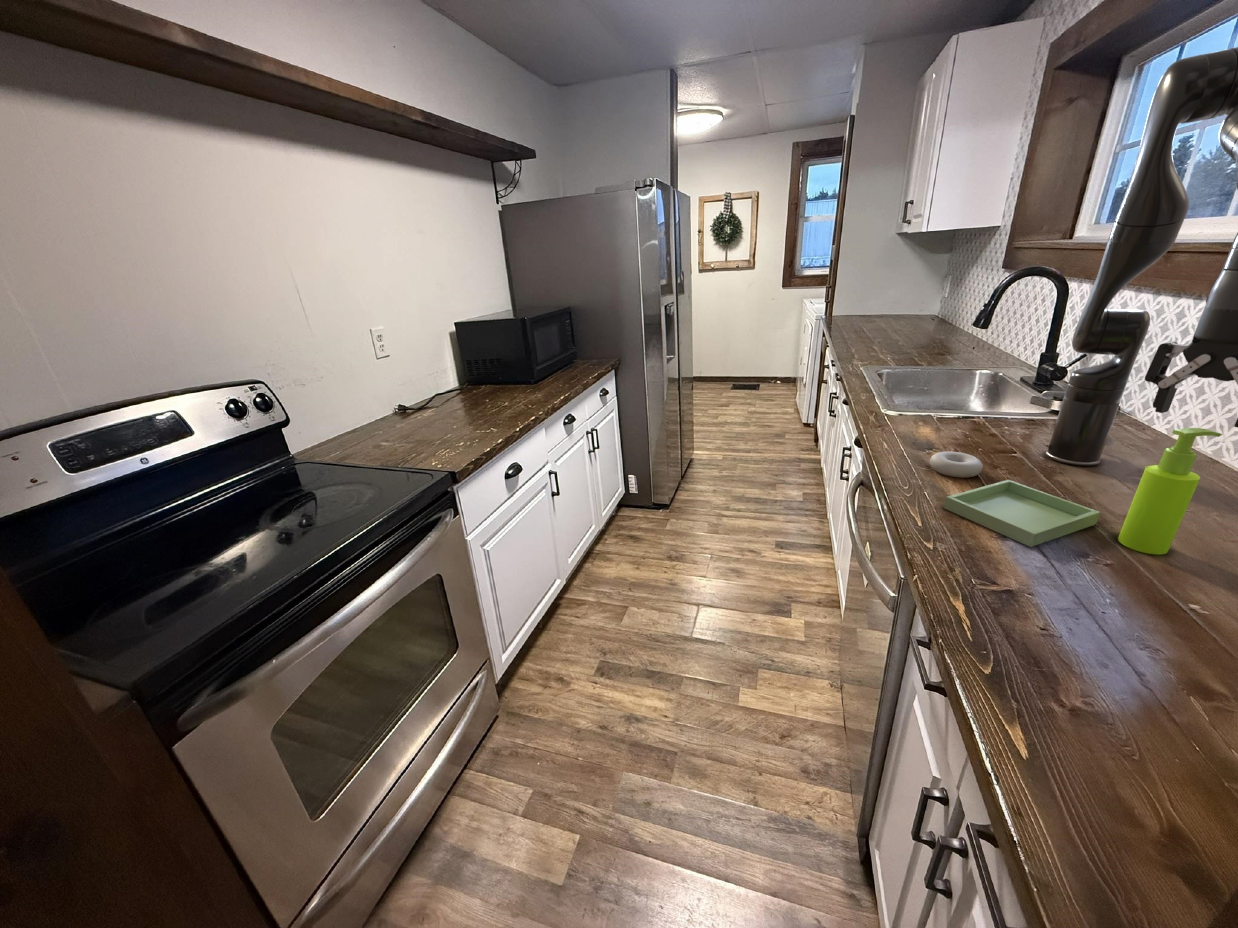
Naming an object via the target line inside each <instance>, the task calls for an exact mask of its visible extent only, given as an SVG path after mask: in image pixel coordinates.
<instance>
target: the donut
mask: <svg viewBox="0 0 1238 928" xmlns="http://www.w3.org/2000/svg"><path fill="white" fill-rule="evenodd" d="M929 465H930V468H931V469H932V470H933V471H935V472H937V473H939V474H940V475H944V476H947V477H953V478H960V479H961V478H962V479H963V478H964V479H965V478H972V477H976V476H978V475H980V474H981V473H982V472H983V469H984V468H983V467H984V464H983V462H982V461H981V460H980V459H979V458H977V457H975V456H974V455H972V454H970V453H969V454H968V453H965V452H960V451H951V450H950V451H940V452H939V451H938V452H937V453H935V454H933V455H932V456H931V457H930V459H929Z"/></svg>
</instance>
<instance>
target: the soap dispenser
mask: <svg viewBox="0 0 1238 928" xmlns="http://www.w3.org/2000/svg"><path fill="white" fill-rule="evenodd" d="M1172 434H1173V435H1175V436H1176V435H1177V436H1178V437H1177V440H1176V442H1175V444H1174V446H1170V447H1166V448H1164V451H1163V453H1162V456H1161V458H1160V461H1159V463H1158V464H1153V465H1152V464H1151V465H1147V466H1145V468H1144V471H1143V473H1142V476H1141V478H1140V481H1139V484H1138V486H1137V488H1136V492H1134V493H1135V494H1134V495H1133V499H1132V501H1131V504H1130V506H1129V509H1128V511H1127V513H1126V516H1125V519H1124V521H1123V524H1122V527H1121V530H1120V532H1119V535H1118V537H1117V541H1118V543H1120V544H1121V545H1123V546H1124V547H1126V548H1129V549H1130V550H1133V551H1136V552H1140V553H1143V554H1149V555H1165V554H1167V553H1168V552H1169V550H1170V547H1171V546H1172V543H1173V541H1174V539H1175V536H1176V534H1177V532H1178V530H1179V528H1180V525H1181V523H1182V521H1183V518H1184V517H1185V514H1186V511H1187V510H1188V507H1189V505H1190V503H1191V500H1192V498H1193V496H1194V493H1195V491H1196V489H1197V488H1198V487H1197V486H1198V485H1199V482H1200V480H1201V476H1200V475H1199V474H1198V473H1195V472H1194V471H1191V470H1192V468H1193V466H1194V464H1195V461H1196V458H1197V456H1198V453H1197V452H1196V451H1195V450H1193V449H1192V447H1193V445H1194V442H1195V440H1196V439H1197V437H1206V436H1208V437H1209V436H1210V437H1217V438H1219V437H1221V436H1222V435H1223V433H1222V432H1217V431H1213V430H1210V429H1208V428H1207V429H1206V428H1203V427H1186V428H1185V427H1184V428H1177V429H1176V428H1175V429H1173V431H1172Z"/></svg>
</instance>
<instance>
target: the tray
mask: <svg viewBox="0 0 1238 928" xmlns="http://www.w3.org/2000/svg"><path fill="white" fill-rule="evenodd" d="M943 509H945V510H946V511H949V512H951V513H953V514H956V515H958V516H960V517H962V518H965V519H966V520H969V521H972V522H974V523H975V524H978V525H981V526H982V527H985V528H987V529H989V530H992V531H993V532H996V533H998V534H1000V535H1003V536H1005V537H1007V538H1009V539H1012V540H1014V541H1016V542H1018V543H1021V544H1023V545H1025V546H1027V547H1030V548H1033V547H1035V546H1038V545H1042V544H1044V543H1046V542H1049V541H1052V540H1055V539H1058V538H1061V537H1064V536H1067V535H1069V534H1072V533H1075V532H1078V531H1081V530H1084V529H1086V528H1089V527H1092V526H1095V525H1097V522H1098V520H1099V517H1100V514H1101V511H1098V510H1096V509H1093V508H1091V507H1088V506H1084V505H1081V504H1079V503H1076V502H1073V501H1071V500H1068V499H1065V498H1063V497H1059V496H1056V495H1054V494H1050V493H1047V492H1045V491H1042V490H1039V489H1037V488H1034V487H1031V486H1028V485H1025V484H1023V483H1020V482H1016V481H1013V480H1010V479H1005V480H1002V481H999V482H998V481H997V482H995V483H991V484H988V485H984V486H980V487H977V488H973V489H970V490H966V491H961V492H959V493H955V494H951V495H948V496H946V497H945V501H944V505H943Z"/></svg>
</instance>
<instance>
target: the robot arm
mask: <svg viewBox="0 0 1238 928" xmlns="http://www.w3.org/2000/svg"><path fill="white" fill-rule="evenodd" d="M1222 116H1226V117H1225V119H1224V120H1223V121H1222V123H1221V126H1220V129H1219V131H1218V142H1219V146H1220V147H1221V149H1222V150H1223V152H1224V153H1226V154H1227V155H1228V157H1229V158H1231V159H1232V160H1233V161H1234V162H1235V165H1236V166H1235V167H1236V189H1237V191H1238V46H1237V47H1230V48H1228V49H1227V48H1226V49H1223V50H1218V51H1213V52H1208V53H1203V54H1198V55H1193V56H1188V57H1185V58H1181V59H1178V60H1176V61H1174V62H1173V63H1172V64H1170V65H1169V66H1168V67H1167V68H1166V70H1165V71H1164V72H1163V75H1162V76H1161V77H1160V80H1159V81H1158V84H1157V85H1156V89H1155V91H1154V93H1153V97H1152V99H1151V103H1150V107H1149V109H1148V113H1147V117H1146V122H1145V125H1144V129H1143V133H1142V136H1141V141H1140V144H1139V148H1138V152H1137V156H1136V160H1135V163H1134V166H1133V170H1132V173H1131V175H1130V178H1129V181H1128V183H1127V187H1126V189H1125V192H1124V195H1123V198H1122V200H1121V203H1120V205H1119V209H1118V211H1117V214H1116V216H1115V218H1114V222H1113V224H1112V228H1111V231H1110V234H1109V236H1108V239H1107V242H1106V245H1105V250H1104V251H1103V256H1102V259H1101V262H1100V266H1099V269H1098V272H1097V275H1096V278H1095V280H1094V283H1093V286H1092V288H1091V291H1090V293H1089V296H1088V298H1087V301H1085V302H1086V303H1085V305H1084V308H1083V310H1082V312H1081V315H1080V317H1079V318H1078V321H1077V324H1076V327H1075V329H1074V332H1073V336H1072V341H1071V347H1072V350H1073V351H1074V352H1076V353H1079V354H1088V355H1101V356H1102V355H1103V356H1105V355H1107V356H1113V357H1112V358H1110V359H1109V360H1107V361H1104V362H1103V363H1099V364H1096V365H1092V366H1088V367H1082V368H1078V369H1075V370H1073V371H1072V372H1071V373H1070V376H1069V379H1068V383H1067V384H1066V385H1067V386H1066V389H1065V392H1064V394H1063V395H1064V396H1063V399H1062V403H1061V405H1060V408H1059V412H1058V415H1057V418H1056V422H1055V424H1054V428H1053V430H1052V435H1051V438H1050V441H1049V444H1048V448H1047V450H1046V452H1045V456H1047V458H1049V459H1050V460H1053V461H1056V462H1059V463H1064V464H1067V465H1073V466H1081V467H1082V466H1083V467H1091V466H1097V465H1099V464H1100V463H1101V458H1102V455H1103V452H1104V449H1105V446H1106V443H1107V441H1108V438H1109V435H1110V432H1111V429H1112V427H1113V424H1114V421H1115V419H1116V416H1117V413H1118V411H1119V410H1121V401H1122V398H1123V395H1124V392H1125V390H1126V388H1127V387H1126V386H1127V384H1128V381H1129V378H1130V376H1131V373H1132V371H1133V368H1134V365H1135V362H1136V359H1137V357H1138V355H1139V353H1140V350H1141V348H1142V346H1143V344H1144V341H1145V339H1146V336H1147V334H1148V332H1149V328H1150V325H1151V314H1150V313H1149V312H1148V311H1147V310H1145V309H1121V308H1120V309H1117V308H1116V309H1115V308H1113V309H1112V308H1108V306H1109V305H1110V303H1111V302H1112V300H1113V299H1114V298H1115V297H1116V295H1118V293H1119V292H1120V291H1121V290H1122V289H1123V288H1124V287H1126V285H1128V284H1129V283H1130V282H1131V281H1132V280H1134V279H1135V278H1137V277H1138V276H1139V275H1140V274H1141V273H1143V272H1144V271H1146V270H1147V269H1148V268H1149V267H1151V266H1152V265H1154V264H1155V263H1156V262H1157V261H1159V260H1160V259H1161V258H1162V257H1163V256H1164V255H1165V254H1166V253H1167V252H1168V251H1169V250H1170V249H1171V248H1172V247H1173V245H1175V242H1176V240H1177V237H1178V235H1179V233H1180V230H1181V228H1182V226H1183V224H1184V221H1185V219H1186V216H1187V214H1188V211H1189V208H1190V201H1189V195H1188V192H1187V190H1186V188H1185V185H1184V183H1183V181H1182V179H1181V177H1180V175H1179V173H1178V170H1177V169H1176V166H1175V162H1174V159H1173V144H1174V138H1175V135H1176V132H1177V129H1178V127H1179V125H1183V124H1184V125H1185V124H1189V123H1196V122H1202V121H1206V120H1207V121H1208V120H1212V119H1217V118H1220V117H1222ZM1107 308H1108V309H1107ZM1200 315H1201V316H1200V318H1199V321H1198V324H1197V325H1196V328H1195V331H1194V333H1193V336H1192V339H1191V342H1189V343H1188V344H1180V343H1178V342H1177V341H1168V342H1164V343H1161V344H1159V345H1158V347H1157V350H1156V352H1155V354H1154V356H1153V358H1152V360H1151V363H1150V365H1149V366H1148V369H1147V372H1146V374H1145V376H1144V381H1145V382H1148V383H1152V384H1154V385H1156V386H1157V387H1158V388H1157V390H1156V391H1157V392H1156V395H1155V397H1154V400H1153V402H1152V408H1154V410H1155V411H1154V412H1155V413H1159V414H1164V413H1167V412H1169V410H1170V408H1171V406H1172V404H1173V401H1174V398H1175V396H1176V393H1177V391H1178V388H1177V387H1176V386H1177V385H1180V384H1181V383H1183V382H1184V381H1186V380H1187V379H1189V378H1191V377H1193V376H1196V377H1197V378H1200V379H1215V380H1219V381H1222V382H1232V381H1235V383H1236V385H1237V386H1238V232H1237V233H1236V235H1235V236H1234V239H1233V241H1232V244H1231V246H1230V249H1229V251H1228V253H1227V255H1226V259H1225V261H1224V264H1223V266H1222V269H1221V271H1220V273H1219V275H1218V277H1217V279H1216V281H1215V282H1214V284H1213V286H1212V288H1211V290H1210V292H1209V295H1207V297H1206V300H1205V305H1204V308H1203V311H1202V313H1201V314H1200ZM1180 354H1183V357H1184V359H1185V361H1186V363H1187V364H1185V365H1183V366H1182V367H1180V368H1179V369H1177V370H1175V371H1174V372H1173V373H1171V374H1170V375H1168V376H1167V375H1166V373H1167V371H1168V369H1169V367H1170V366H1171V365H1170V364H1171V362H1172V360H1173V359H1174V358H1178V357H1179V356H1180ZM1119 404H1120V406H1119ZM1234 427H1235V428H1238V417H1237V419H1236V421H1235V422H1234Z"/></svg>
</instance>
